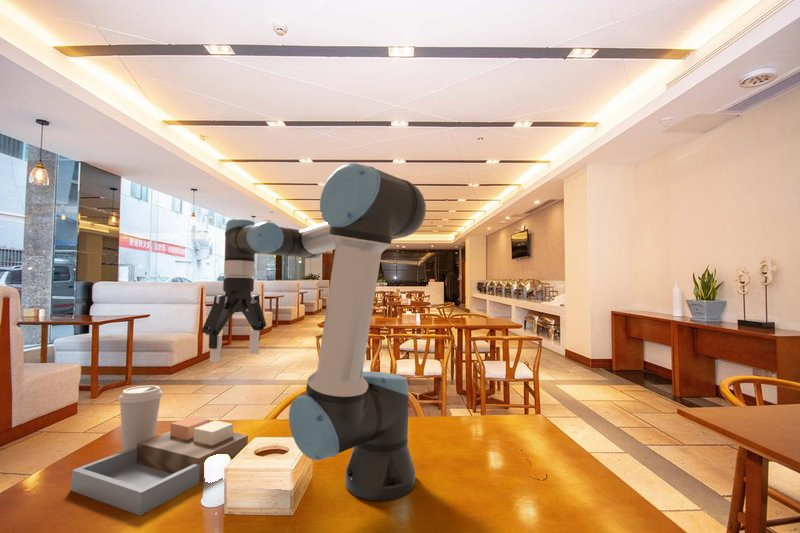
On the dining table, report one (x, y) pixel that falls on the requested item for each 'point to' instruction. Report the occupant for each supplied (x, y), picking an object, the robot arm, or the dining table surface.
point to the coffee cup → (139, 414)
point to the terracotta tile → (186, 427)
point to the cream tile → (213, 432)
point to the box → (131, 482)
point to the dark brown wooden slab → (184, 452)
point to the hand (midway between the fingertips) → (235, 357)
